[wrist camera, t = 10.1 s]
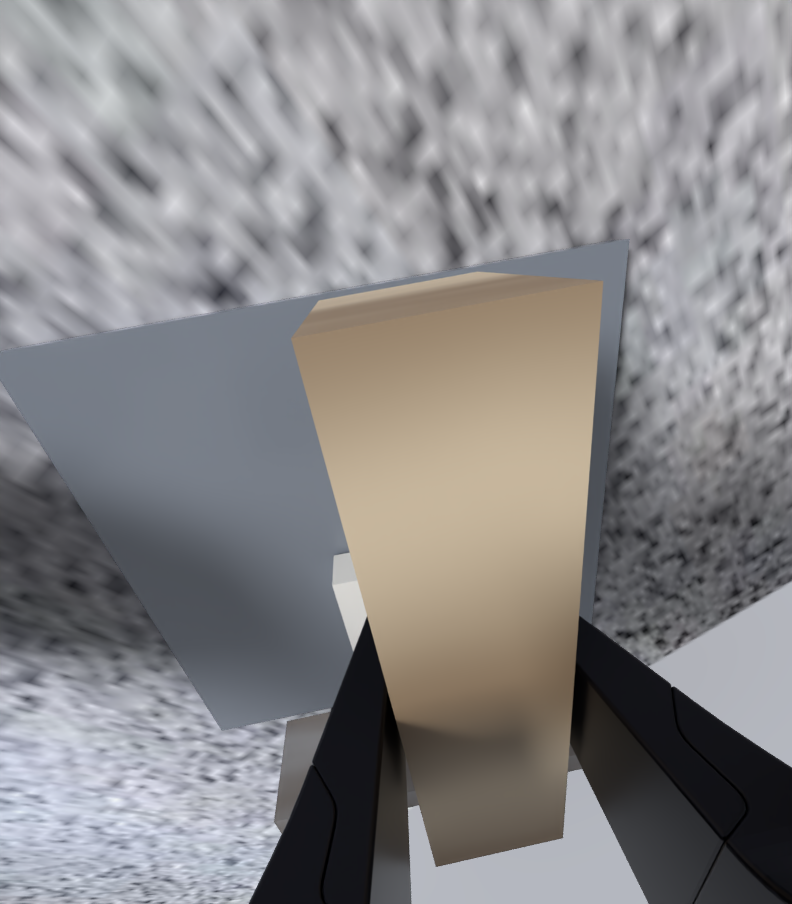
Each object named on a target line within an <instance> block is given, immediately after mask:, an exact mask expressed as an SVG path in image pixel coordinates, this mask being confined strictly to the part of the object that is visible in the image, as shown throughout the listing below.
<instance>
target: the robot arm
mask: <svg viewBox="0 0 792 904" xmlns="http://www.w3.org/2000/svg"><path fill="white" fill-rule="evenodd" d="M570 745H571V747H572V749H573V751H574V753H575V755H576V757H577V759H578V761H579V763H580V765H581V767H582V769H583V771H584V773H585V775H586V777H587V779H588V781H589V783H590V785H591V787H592V789H593V791H594V794H595V795H596V797H597V800H598V802H599V804H600V806H601V808H602V810H603V812H604V814H605V816H606V818H607V820H608V822H609V824H610V826H611V828H612V830H613V832H614V834H615V836H616V838H617V840H618V842H619V844H620V846H621V848H622V850H623V852H624V854H625V856H626V859H627V861H628V862H629V865H630V866H631V869H632V871H633V873H634V875H635V877H636V879H637V881H638V883H639V885H640V887H641V889H642V891H643V893H644V895H645V897H646V899H647V901H648V903H649V904H792V767H790V766H788V765H787V764H785V763H784V762H782V761H781V760H779V759H778V758H776V757H775V756H773V755H771V754H770V753H768V752H767V751H765V750H764V749H762V748H761V747H759V746H758V745H756V744H755V743H753V742H752V741H750V740H749V739H747V738H746V737H744V736H743V735H741V734H740V733H738V732H737V731H735V730H734V729H732V728H731V727H729V726H728V725H726V724H725V723H723V722H722V721H721V720H719V719H718V718H717V717H715V716H714V715H712V714H711V713H710V712H708V711H707V710H705V709H704V708H703V707H701V706H700V705H699V704H697V703H696V702H694V701H693V700H691V699H690V698H689V697H688V696H686V695H685V694H684V693H682V692H681V691H679V690H678V689H677V688H676V687H672V688H671V684H670V683H669V682H667V681H666V680H665V679H663V678H662V677H661V676H659V675H658V674H657V673H655V672H654V671H653V670H651V669H650V668H649V667H648V666H646V665H645V664H644V663H642V662H641V661H640V660H638V659H637V658H636V657H634V656H633V655H632V654H630V653H629V652H628V651H626V650H625V649H624V648H622V647H621V646H620V645H618V644H617V643H616V642H614V641H613V640H612V639H610V638H609V637H608V636H606V635H605V634H604V633H602V632H601V631H600V630H598V629H597V628H596V627H594V626H593V625H592V624H590V623H589V622H588V621H586V620H585V619H584V618H582V617H581V616H580V615H579V622H578V636H577V650H576V663H575V677H574V691H573V704H572V718H571V732H570ZM312 764H313V765H310V767H309V769H308V772H307V775H306V777H305V780H304V783H303V785H302V788H301V790H300V793H299V795H298V798H297V800H296V802H295V805H294V807H293V810H292V812H291V815H290V817H289V820H288V822H287V824H286V826H285V828H284V831H283V833H282V835H281V837H280V839H279V841H278V844H277V846H276V848H275V850H274V852H273V854H272V857H271V859H270V861H269V863H268V865H267V867H266V869H265V871H264V873H263V875H262V877H261V879H260V881H259V883H258V885H257V888H256V890H255V892H254V894H253V896H252V898H251V900H250V902H249V904H411V882H410V855H409V829H408V803H407V777H406V755H405V752H404V748H403V745H402V741H401V737H400V734H399V730H398V726H397V723H396V719H395V715H394V712H393V708H392V704H391V701H390V697H389V694H388V690H387V686H386V683H385V679H384V675H383V672H382V668H381V664H380V661H379V657H378V653H377V650H376V646H375V643H374V639H373V635H372V632H371V628H370V624H369V621H368V617H366V620H365V623H364V625H363V628H362V630H361V633H360V636H359V638H358V641H357V644H356V646H355V649H354V651H353V654H352V657H351V659H350V662H349V665H348V667H347V670H346V673H345V675H344V678H343V680H342V683H341V686H340V688H339V691H338V694H337V696H336V699H335V701H334V704H333V707H332V709H331V712H330V715H329V717H328V720H327V722H326V725H325V728H324V730H323V733H322V736H321V738H320V741H319V744H318V746H317V749H316V751H315V754H314V757H313V759H312Z"/></svg>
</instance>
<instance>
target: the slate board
mask: <svg viewBox="0 0 792 904" xmlns="http://www.w3.org/2000/svg"><path fill="white" fill-rule="evenodd" d="M628 249H629V239H623V240H611V241H606V242H600V243H595V244H589V245H584V246H578V247H572V248H567V249H561V250H556V251H550V252H545V253H539V254H534V255H528V256H522V257H517V258H511V259H506V260H500V261H495V262H489V263H484V264H478V265H472V266H467V267H461V268H456V269H450V270H445V271H439V272H434V273H428V274H422V275H417V276H411V277H406V278H400V279H395V280H389V281H384V282H378V283H372V284H367V285H361V286H356V287H350V288H345V289H339V290H334V291H328V292H322V293H317V294H311V295H306V296H300V297H295V298H289V299H284V300H278V301H272V302H267V303H261V304H256V305H250V306H245V307H239V308H234V309H228V310H222V311H217V312H211V313H206V314H200V315H195V316H189V317H184V318H178V319H172V320H167V321H161V322H156V323H150V324H145V325H139V326H134V327H128V328H122V329H117V330H111V331H106V332H100V333H95V334H89V335H84V336H78V337H72V338H67V339H61V340H56V341H50V342H45V343H39V344H34V345H28V346H22V347H17V348H11V349H6V350H2V351H0V381H1V382H2V384H3V386H4V387H5V389H6V390H7V392H8V394H9V395H10V397H11V398H12V400H13V401H14V403H15V405H16V406H17V408H18V409H19V411H20V412H21V414H22V416H23V417H24V419H25V420H26V422H27V424H28V425H29V427H30V428H31V430H32V431H33V433H34V435H35V436H36V438H37V439H38V441H39V442H40V444H41V446H42V447H43V449H44V450H45V452H46V454H47V455H48V457H49V458H50V460H51V461H52V463H53V465H54V466H55V468H56V469H57V471H58V472H59V474H60V476H61V477H62V479H63V480H64V482H65V484H66V485H67V487H68V488H69V490H70V491H71V493H72V495H73V496H74V498H75V499H76V501H77V503H78V504H79V506H80V507H81V509H82V510H83V512H84V514H85V515H86V517H87V518H88V520H89V521H90V523H91V525H92V526H93V528H94V529H95V531H96V533H97V534H98V536H99V537H100V539H101V540H102V542H103V544H104V545H105V547H106V548H107V550H108V551H109V553H110V555H111V556H112V558H113V559H114V561H115V563H116V564H117V566H118V567H119V569H120V570H121V572H122V574H123V575H124V577H125V578H126V580H127V581H128V583H129V585H130V586H131V588H132V589H133V591H134V593H135V594H136V596H137V597H138V599H139V600H140V602H141V604H142V605H143V607H144V608H145V610H146V611H147V613H148V615H149V616H150V618H151V619H152V621H153V623H154V624H155V626H156V627H157V629H158V630H159V632H160V634H161V635H162V637H163V638H164V640H165V641H166V643H167V645H168V646H169V648H170V649H171V651H172V653H173V654H174V656H175V657H176V659H177V660H178V662H179V664H180V665H181V667H182V668H183V670H184V671H185V673H186V675H187V676H188V678H189V679H190V681H191V683H192V684H193V686H194V687H195V689H196V690H197V692H198V694H199V695H200V697H201V698H202V700H203V702H204V703H205V705H206V706H207V708H208V709H209V711H210V713H211V714H212V716H213V717H214V719H215V720H216V722H217V724H218V725H219V727H220V728H221V730H222V731H223V730H227V729H232V728H237V727H242V726H246V725H251V724H256V723H261V722H266V721H270V720H275V719H280V718H285V717H289V716H294V715H299V714H304V713H309V712H313V711H318V710H323V709H328V708H332V707H333V704H334V701H335V699H336V696H337V694H338V691H339V688H340V686H341V683H342V680H343V678H344V675H345V673H346V670H347V667H348V665H349V662H350V659H351V657H352V654H353V649H352V646H351V643H350V640H349V637H348V634H347V630H346V627H345V624H344V621H343V618H342V615H341V612H340V608H339V605H338V602H337V599H336V596H335V593H334V589H333V586H332V580H333V560H334V555H339V554H344V553H349V552H350V551H349V548H348V544H347V541H346V537H345V533H344V530H343V526H342V522H341V519H340V515H339V511H338V508H337V504H336V500H335V497H334V493H333V490H332V486H331V482H330V479H329V475H328V471H327V468H326V464H325V460H324V457H323V453H322V449H321V446H320V442H319V439H318V435H317V431H316V428H315V424H314V420H313V417H312V413H311V409H310V406H309V402H308V398H307V395H306V391H305V388H304V384H303V380H302V377H301V373H300V369H299V366H298V362H297V358H296V355H295V351H294V347H293V344H292V340H291V338H292V336H293V335H294V334H295V332H296V331H297V329H298V328H299V327H300V325H301V324H302V323H303V321H304V320H305V319H306V317H307V316H308V314H309V313H310V312H311V310H312V309H313V308H314V306H315V305H316V304H317V302H318V301H319V300H324V299H330V298H335V297H341V296H346V295H352V294H357V293H363V292H368V291H374V290H379V289H385V288H390V287H396V286H401V285H407V284H412V283H418V282H423V281H429V280H434V279H440V278H445V277H451V276H456V275H462V274H467V273H473V272H490V273H504V274H517V275H531V276H545V277H558V278H572V279H586V280H599V281H603V293H602V307H601V320H600V334H599V348H598V361H597V375H596V389H595V403H594V416H593V430H592V444H591V457H590V471H589V485H588V499H587V512H586V526H585V540H584V554H583V567H582V581H581V595H580V608H579V615H580V616H581V617H582V618H584V619H585V620H586V621H588V622H589V623H590V624H592V616H593V606H594V596H595V586H596V576H597V565H598V555H599V545H600V535H601V525H602V514H603V504H604V494H605V484H606V474H607V463H608V453H609V443H610V433H611V423H612V412H613V402H614V392H615V382H616V371H617V361H618V351H619V341H620V331H621V320H622V310H623V300H624V290H625V280H626V269H627V259H628Z"/></svg>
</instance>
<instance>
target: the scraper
mask: <svg viewBox="0 0 792 904" xmlns="http://www.w3.org/2000/svg"><path fill="white" fill-rule="evenodd" d="M602 293H603V281H599V280H586V279H572V278H558V277H545V276H531V275H517V274H504V273H490V272H473V273H467V274H462V275H456V276H451V277H445V278H440V279H434V280H429V281H423V282H418V283H412V284H407V285H401V286H396V287H390V288H385V289H379V290H374V291H368V292H363V293H357V294H352V295H346V296H341V297H335V298H330V299H324V300H319V301H318V302H317V304H316V305H315V306H314V308H313V309H312V310H311V312H310V313H309V314H308V316H307V317H306V319H305V320H304V321H303V323H302V324H301V325H300V327H299V328H298V329H297V331H296V332H295V334H294V335H293V336H292V338H291V340H292V344H293V347H294V351H295V355H296V358H297V362H298V366H299V369H300V373H301V377H302V380H303V384H304V388H305V391H306V395H307V398H308V402H309V406H310V409H311V413H312V417H313V420H314V424H315V428H316V431H317V435H318V439H319V442H320V446H321V449H322V453H323V457H324V460H325V464H326V468H327V471H328V475H329V479H330V482H331V486H332V490H333V493H334V497H335V500H336V504H337V508H338V511H339V515H340V519H341V522H342V526H343V530H344V533H345V537H346V541H347V544H348V548H349V551H350V555H351V559H352V562H353V566H354V570H355V573H356V577H357V581H358V584H359V588H360V592H361V595H362V599H363V602H364V606H365V610H366V613H367V617H368V621H369V624H370V628H371V632H372V635H373V639H374V643H375V646H376V650H377V653H378V657H379V661H380V664H381V668H382V672H383V675H384V679H385V683H386V686H387V690H388V694H389V697H390V701H391V704H392V708H393V712H394V715H395V719H396V723H397V726H398V730H399V734H400V737H401V741H402V745H403V748H404V752H405V755H406V777H407V803H408V807H413V806H417V805H419V806H420V810H421V813H422V817H423V821H424V824H425V828H426V832H427V836H428V839H429V843H430V846H431V850H432V854H433V857H434V861H435V865H436V867H438V866H442V865H446V864H451V863H456V862H460V861H464V860H468V859H473V858H477V857H482V856H486V855H491V854H495V853H499V852H504V851H508V850H512V849H517V848H521V847H526V846H530V845H534V844H539V843H543V842H548V841H552V840H556V839H561V838H563V827H564V813H565V800H566V787H567V773H568V772H569V771H574V770H578V769H582V767H581V765H580V763H579V761H578V759H577V757H576V755H575V753H574V751H573V749H572V747H571V745H570V732H571V718H572V704H573V691H574V677H575V663H576V650H577V636H578V622H579V608H580V595H581V581H582V567H583V554H584V540H585V526H586V512H587V499H588V485H589V471H590V457H591V444H592V430H593V416H594V403H595V389H596V375H597V361H598V348H599V334H600V320H601V307H602ZM329 715H330V712H328V713H323V714H319V715H314V716H309V717H305V718H300V719H295V720H291V721H287V727H286V735H285V742H284V750H283V758H282V765H281V773H280V781H279V789H278V796H277V804H276V812H275V819H274V822H275V824H276V825H277V827H278V828H279V830H280V832H281V833H283V831H284V828H285V826H286V824H287V822H288V820H289V817H290V815H291V812H292V810H293V807H294V805H295V802H296V800H297V798H298V795H299V793H300V790H301V788H302V785H303V783H304V780H305V777H306V775H307V772H308V769H309V767H310V765H313V764H312V759H313V757H314V754H315V751H316V749H317V746H318V744H319V741H320V738H321V736H322V733H323V730H324V728H325V725H326V722H327V720H328V717H329Z"/></svg>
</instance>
